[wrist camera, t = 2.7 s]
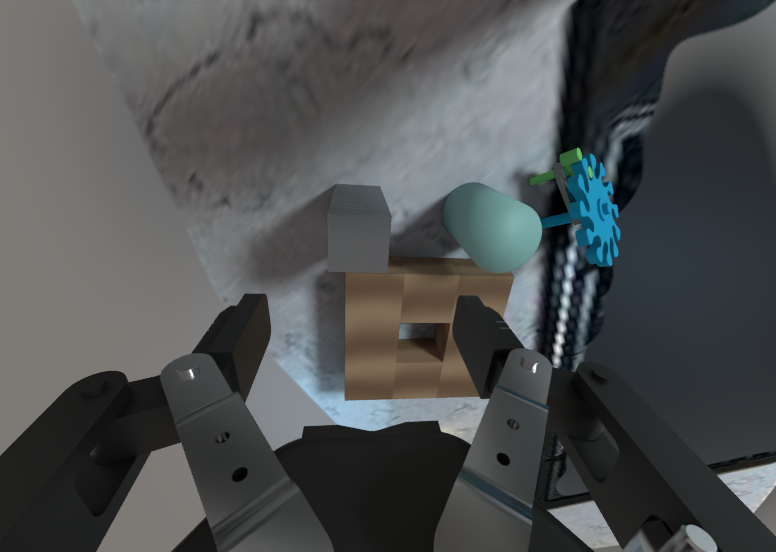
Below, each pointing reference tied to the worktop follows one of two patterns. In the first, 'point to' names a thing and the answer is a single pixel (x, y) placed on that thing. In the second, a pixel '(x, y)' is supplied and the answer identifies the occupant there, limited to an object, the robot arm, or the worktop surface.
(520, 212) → the round peg
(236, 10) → the worktop surface
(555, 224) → the gear
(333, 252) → the square peg
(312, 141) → the worktop surface
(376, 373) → the socket block
